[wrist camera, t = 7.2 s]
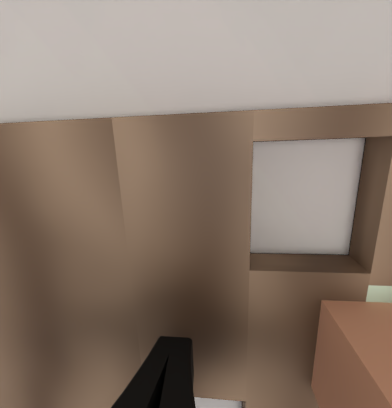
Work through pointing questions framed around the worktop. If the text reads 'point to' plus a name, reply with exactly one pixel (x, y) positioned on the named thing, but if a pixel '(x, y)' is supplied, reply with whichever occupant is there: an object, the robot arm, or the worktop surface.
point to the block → (353, 355)
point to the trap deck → (171, 254)
